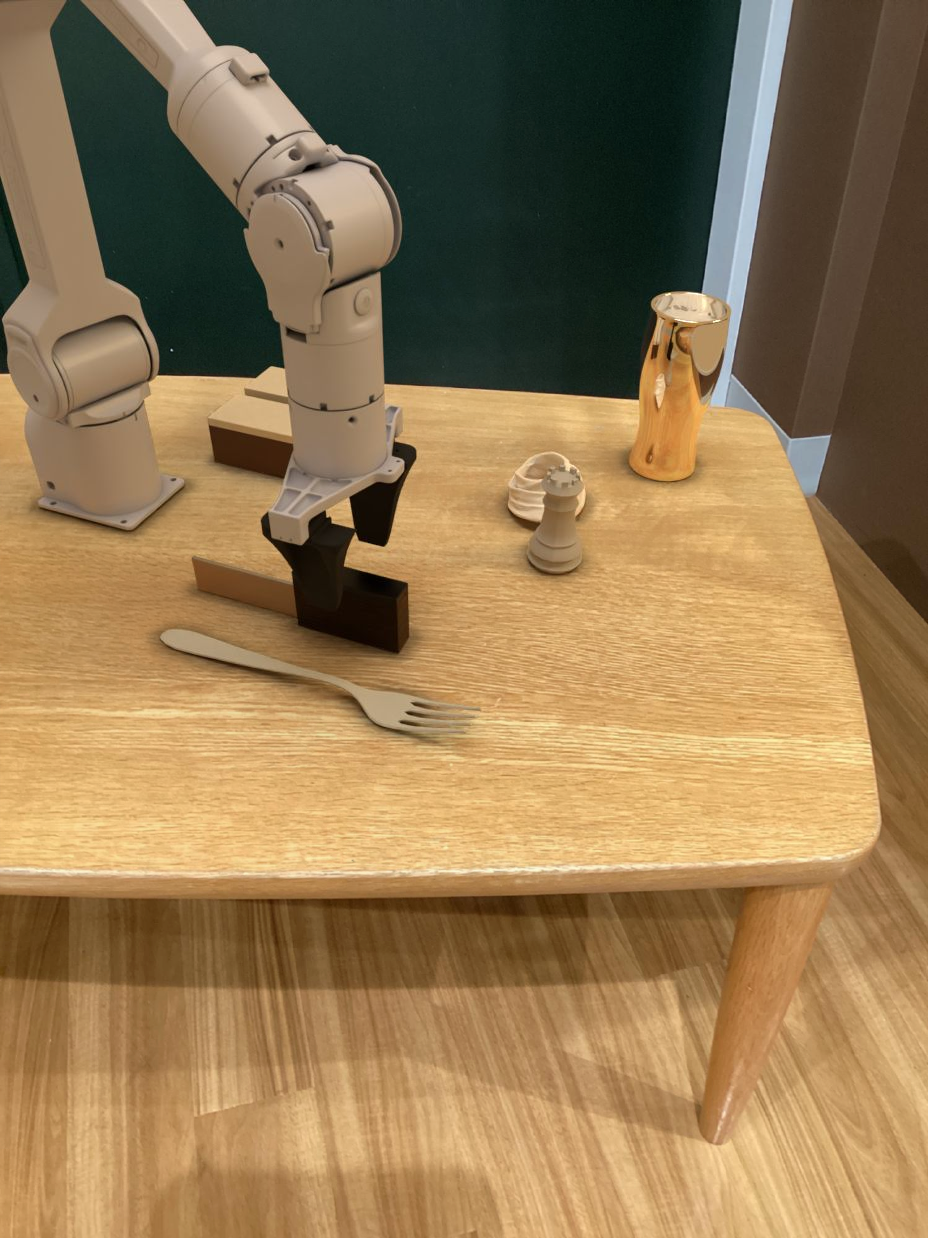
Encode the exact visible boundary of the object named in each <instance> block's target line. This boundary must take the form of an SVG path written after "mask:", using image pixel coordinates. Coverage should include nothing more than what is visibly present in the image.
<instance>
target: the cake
mask: <svg viewBox="0 0 928 1238" xmlns="http://www.w3.org/2000/svg"><path fill="white" fill-rule="evenodd" d="M206 419H207V424H208V431H209V437H210V443H211V448H212V449H211V450H212V454H213V461H214V462H216V463H220V464H224V465H227V466H232V467H236V468H240V469H244V470H249V471H253V472H257V473H260V474H261V473H262V474H266V475H269V476H274V477H277V478H278V477H279V478H283V479H284V478H285V475H286V471H287V468H288V465H289V461H290V458H291V455H292V452H293V450H294V449H293V440H292V431H291V422H290V413H289V405H288V404H284V403H279V402H274V401H269V400H265V399H260V398H255V397H251V396H246V395H245V394H241V393H236V394H235V395H233V396H232V397H231V398H229V399H228V400H226V402H224V403H223V404H222V405H221V406H220V407H218V408H217V409H216V410H214V411H213V412H212V413H211V414H210V415H208V416H207V418H206Z"/></svg>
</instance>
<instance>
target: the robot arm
mask: <svg viewBox="0 0 928 1238" xmlns="http://www.w3.org/2000/svg"><path fill="white" fill-rule="evenodd" d="M80 2H81V3H82V4H83V5H84V6H85V7H86V8H87V9H88V10H89V12H91V13H92V14H93V15H94V16H95V17H96V18H97V20H99V21H100V23H102V24H103V25H104V26H105V27H106V29H108V31H109V32H110V33H111V34H112V36H114V37H115V38H116V39H117V40H118V41H119V42H120V43H121V44H122V45H123V46H124V47H125V48H126V49H127V51H128V52H129V53H131V54H132V55H133V57H134V58H135V59H136V60H137V61H138V62H139V63H140V64H141V65H142V66H143V67H144V68H145V69H146V71H148V72H149V73H150V75H152V77H154V78H155V80H157V82H158V83H159V85H161V86H162V87H163V88H164V89H165V90H166V91H167V107H166V114H167V115H166V116H167V121H168V124H169V127H170V129H171V131H172V132H173V133H174V135H175V136H176V137H177V138H178V139H179V141H180V142H181V143H182V144H183V145H184V147H185V148H186V149H187V150H188V151H189V153H190V154H191V155H192V156H193V158H194V159H195V160H196V161H197V162H198V164H199V165H200V166H201V167H202V168H203V170H204V171H205V172H206V173H207V174H208V176H209V177H210V178H211V180H212V181H213V182H214V183H215V184H216V185H217V187H218V188H219V189H220V190H221V192H222V193H223V194H224V195H225V196H226V198H227V199H228V200H229V201H230V203H232V205H233V207H235V208H236V210H237V211H238V212H239V213H240V214H241V216H242V217H243V218H244V219H245V221H246V222H247V223H248V228H247V227H245V228H243V234H244V240H245V243H246V244H245V245H246V249H247V251H248V254H249V256H250V259H251V261H252V263H253V265H254V267H255V269H256V271H257V273H258V274H259V276H260V278H261V280H262V282H263V284H264V287H265V292H266V299H267V308H268V310H269V311H271V313H272V317H273V319H274V321H275V322H276V323H279V331H280V339H281V349H282V357H283V365H284V369H285V376H286V385H287V394H288V403H289V413H290V422H291V431H292V440H293V449H294V450H293V452H292V455H291V458H290V461H289V465H288V468H287V471H286V475H285V478H283V482H282V485H281V488H280V491H279V493H278V496H277V499H276V500H275V502H274V504H273V505H272V506H271V507H270V509H268V510H267V512H265V514H263V515H262V517H261V518H260V526H261V534H262V536H263V537H264V538H265V539H266V540H267V541H268V542H269V543H271V545H272V546H274V548H275V549H276V550H277V551H278V552H279V554H280V555H281V556H282V557H283V558H284V560H285V561H286V562H287V564H288V566H289V567H290V569H291V572H292V571H293V572H294V574H295V576H296V578H297V580H298V582H299V584H300V587H301V589H302V591H303V593H304V595H305V598H306V600H307V602H308V604H309V605H312V606H316V607H319V608H323V609H327V610H330V611H336V609H337V608H338V607H339V605H340V602H341V599H342V593H343V572H344V566H345V564H346V563H345V562H346V558H347V554H348V551H349V547H350V545H351V542H352V540H353V538H354V536H355V535H356V537H357V540H358V542H361V543H366V544H370V545H373V546H377V547H381V548H385V547H386V545H388V543H389V540H390V538H391V534H392V530H393V525H394V521H395V515H396V511H397V507H398V503H399V499H400V495H401V492H402V490H403V487H404V485H405V481H406V479H407V477H408V475H409V473H410V471H411V469H412V467H413V466H414V464H415V462H416V460H417V457H418V454H417V453H418V452H417V451H418V450H417V448H416V447H414V446H413V445H412V444H408V443H404V442H400V441H396V438H399V437H400V436H401V435H402V433H403V432H404V424H403V423H404V422H403V421H404V419H403V417H404V416H403V406H401V405H397V404H396V405H394V404H390V403H386V396H385V394H386V392H385V366H384V365H385V363H384V362H385V361H384V337H383V336H384V333H383V305H382V283H381V280H382V279H381V278H382V277H381V271H379V270H380V269H381V268H383V267H385V266H387V265H388V264H390V262H392V261H393V259H394V258H395V257H396V255H397V253H398V251H399V250H400V249H399V248H400V245H401V240H402V233H403V232H402V231H403V223H402V215H401V210H400V206H399V202H398V199H397V197H396V195H395V193H394V190H393V189H392V186H391V185H390V183H389V182H388V180H387V179H386V178H385V176H384V174H383V173H382V170H381V168H380V167H379V166H378V164H376V163H375V162H374V161H372V160H371V159H369V158H367V157H365V156H362V155H360V154H359V155H358V154H348V153H345V152H344V151H343V150H342V149H341V148H340V147H339V146H338V144H335V145H333V144H332V143H330V144H326V142H325V141H324V140H323V138H321V136H320V135H319V134H318V133H317V132H316V130H315V129H314V128H313V127H312V125H311V124H310V123H309V122H308V120H307V119H306V118H305V117H304V116H303V114H301V112H300V111H299V110H298V108H296V106H295V105H294V104H293V103H292V101H291V100H290V99H289V98H288V97H287V95H286V94H285V93H284V92H283V91H282V89H281V88H280V87H279V86H278V84H277V83H276V82H275V80H273V78H272V77H271V76H270V69H269V68H268V66H267V65H266V64H265V63H264V62H263V60H262V59H261V58H260V56H259V55H258V54H257V53H255V52H252V53H251V52H249V51H248V50H247V49H245V48H244V47H240V46H237V45H219V46H218V45H216V44H215V43H214V42H213V40H212V39H211V37H210V36H209V35H208V33H207V31H206V30H205V29H204V28H203V26H202V24H201V23H200V22H199V20H198V18H196V16H195V15H194V13H193V12H192V11H191V9H190V8H189V7H188V5H187V3H186V2H185V1H184V0H80ZM66 3H67V0H0V179H1V183H2V187H3V190H4V194H5V197H6V201H7V204H8V207H9V211H10V214H11V218H12V221H13V226H14V229H15V232H16V236H17V239H18V243H19V246H20V250H21V254H22V257H23V261H24V264H25V267H26V272H27V275H28V278H29V280H28V282H27V284H26V285H25V287H24V288H23V290H22V291H21V292H20V293H19V295H18V296H17V298H16V299H15V300H14V301H13V303H12V304H11V305H10V306H9V308H8V309H7V311H6V312H5V313H4V315H3V317H2V318H1V322H2V325H3V332H4V335H5V341H6V347H7V354H6V355H7V356H6V361H7V369H8V372H9V375H10V378H11V381H12V383H13V385H14V387H15V388H16V391H17V392H18V394H19V395H20V397H21V398H22V400H23V401H24V403H25V404H26V405H27V406H28V408H27V411H26V414H25V418H24V425H23V426H24V427H23V428H24V437H25V442H26V444H27V448H28V451H29V454H30V457H31V460H32V464H33V467H34V470H35V473H36V476H37V478H38V482H39V485H40V488H41V492H42V494H43V496H42V497H40V498H39V499H38V500H37V505H38V507H39V508H42V509H46V510H50V511H54V512H57V513H61V514H64V515H68V516H72V517H75V518H80V519H83V520H87V521H91V522H96V523H99V524H101V525H102V524H103V525H106V526H110V527H114V528H117V529H121V530H125V531H132V530H134V529H136V528H137V527H138V526H139V525H140V524H141V523H143V521H145V520H146V519H147V518H149V516H150V515H152V514H153V513H154V512H155V511H156V510H158V508H160V507H161V506H162V505H163V504H164V503H166V502H167V501H168V500H169V499H170V498H171V497H172V496H173V495H175V494H176V493H177V492H178V491H179V490H181V488H183V487H184V486H185V480H184V478H181V477H177V476H175V475H169V474H165V473H161V471H160V467H159V462H158V458H157V452H156V449H155V444H154V440H153V434H152V430H151V426H150V421H149V416H148V412H147V408H146V403H145V399H147V398H149V397H150V396H152V391H151V385H150V383H151V382H152V381H154V380H155V379H156V377H157V376H158V373H159V369H160V353H159V348H158V344H157V342H156V339H155V335H154V334H153V332H152V331H151V329H150V326H149V325H148V323H147V320H146V317H145V315H144V311H143V309H142V306H141V300H140V298H139V297H138V295H136V294H135V293H134V292H133V291H131V290H130V289H129V288H127V287H125V286H124V285H122V284H120V283H118V282H117V281H114V280H112V279H110V278H107V277H106V274H105V269H104V265H103V261H102V256H101V252H100V247H99V243H98V238H97V234H96V229H95V225H94V221H93V217H92V213H91V208H90V203H89V199H88V194H87V190H86V186H85V182H84V178H83V173H82V169H81V164H80V160H79V155H78V151H77V146H76V141H75V137H74V134H73V130H72V125H71V121H70V117H69V111H68V108H67V104H66V100H65V95H64V90H63V87H62V81H61V78H60V77H61V76H60V72H59V69H58V64H57V59H56V55H55V52H54V47H53V42H52V38H51V28H52V26H53V25H54V22H55V21H56V19H57V18H58V16H59V14H60V13H61V11H62V9H63V7H64V5H65V4H66ZM346 499H348V500H349V505H350V509H351V510H350V511H351V518H352V522H353V527H350V526H346V525H341V524H337V523H335V522H332V521H333V520H332V519H333V518H332V516H331V515H329V516H328V517H327V510H328V509H330V508H332V507H334V506H335V505H338V504H339V503H341V502H342V501H344V500H346Z"/></svg>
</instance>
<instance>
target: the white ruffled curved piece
mask: <svg viewBox="0 0 928 1238" xmlns="http://www.w3.org/2000/svg"><path fill="white" fill-rule="evenodd" d="M559 465H566V467H565V470H566V471H570V468H571V467H574V468H576V469H577V472H580V471H579V469H578V468H577V466H576V465H574V464H573V463H570V461H569V459H568V458H567V457H565V456H564V455H562V454H561V453H559V452H556V451H546V452H541V453H537V454H534V455H532V456H531V457H528V458H527V459H526V461H525V462H523V463H522V465H520V467H518V468H517V469H516V470H515V471H514V472H513V473H514V474H513V475H512V477H511V478H510V480H509V481H508V483H507V487H508V488H509V491H508V501H507V507H508V510H509V511H510V512H511V513H512V514H513V515H514V516H516V517H518V518H520V519H523V520H527V521H530V522H533V523H541V520H542V516H543V512H544V504H543V501H542V499H543V497H544V496H545V495H546V492H545V491H544V489H543V488H542V487H541V481H542V479H543V478H544V477H545V476H546V475H547V471H548V472H549V468H551V467H552V466H554V467H555V468H556V470H559ZM556 470H555V471H556ZM580 475H581V473H580ZM580 479H581V480H582V482H583V483H584V489H583V490H582V492H581V493H580V494H579V495H577V499H578V500H579V505H578V507H577V508H576V511H575V518H576V517H577V516H578V515H579V514H580V513H581V512H582V510H583V508H584V506H585V504H586V497H587V496H586V495H587V491H586V486H585V482H584V479H583V477H582V475H581V477H580Z"/></svg>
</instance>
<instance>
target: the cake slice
mask: <svg viewBox="0 0 928 1238" xmlns="http://www.w3.org/2000/svg"><path fill="white" fill-rule="evenodd" d="M243 390H244V395H246V396H251V397H255V398H260V399H265V400H269V401H274V402H279V403H284V404H288V405H289V403H288V394H287V385H286V376H285V368H283V367H277V366H273V365H272V366H269V367H268V368H267V369H265V370H264V371H263V372H262V373H260V374H259V375H258V376H257V377H256V378H254V379H253V380H251V382H249V383H248V384H246V386H244V387H243Z"/></svg>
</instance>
